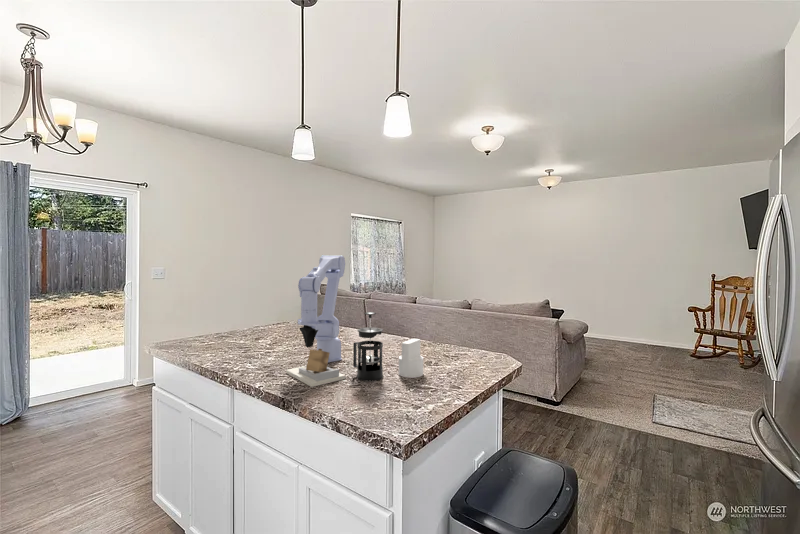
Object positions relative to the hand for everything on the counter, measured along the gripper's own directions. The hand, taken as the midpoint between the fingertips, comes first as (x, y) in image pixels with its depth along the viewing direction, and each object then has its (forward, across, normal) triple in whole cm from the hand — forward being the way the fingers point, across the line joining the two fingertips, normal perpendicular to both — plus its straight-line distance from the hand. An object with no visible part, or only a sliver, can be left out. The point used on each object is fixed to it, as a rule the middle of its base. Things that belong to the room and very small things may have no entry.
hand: (309, 346), depth 135 cm
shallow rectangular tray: (+10, +4, 0) cm, 11 cm away
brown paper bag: (+8, +6, 0) cm, 10 cm away
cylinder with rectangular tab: (+10, +24, +28) cm, 39 cm away
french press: (+10, +18, +14) cm, 24 cm away
